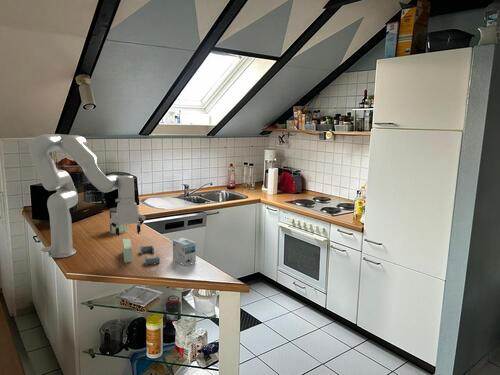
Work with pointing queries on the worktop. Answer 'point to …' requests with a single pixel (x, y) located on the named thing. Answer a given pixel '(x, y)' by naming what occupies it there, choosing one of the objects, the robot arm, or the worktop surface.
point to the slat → (127, 250)
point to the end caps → (149, 260)
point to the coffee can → (121, 227)
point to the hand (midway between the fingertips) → (128, 234)
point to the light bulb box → (184, 251)
